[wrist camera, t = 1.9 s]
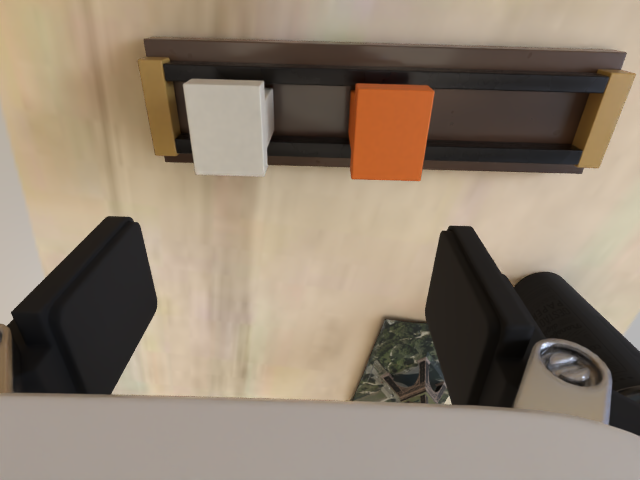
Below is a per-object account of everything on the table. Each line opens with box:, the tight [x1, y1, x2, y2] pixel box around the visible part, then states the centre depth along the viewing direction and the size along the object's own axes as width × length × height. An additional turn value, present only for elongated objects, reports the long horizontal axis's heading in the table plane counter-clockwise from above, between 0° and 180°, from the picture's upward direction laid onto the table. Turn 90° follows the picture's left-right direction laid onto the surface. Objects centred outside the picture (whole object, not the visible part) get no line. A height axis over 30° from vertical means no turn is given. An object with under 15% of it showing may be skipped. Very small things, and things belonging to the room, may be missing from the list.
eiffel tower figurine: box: [352, 319, 449, 404], centre depth 37 cm, size 15×10×13 cm
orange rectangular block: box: [348, 83, 435, 181], centre depth 25 cm, size 5×4×6 cm
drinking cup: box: [514, 272, 640, 404], centre depth 28 cm, size 8×8×20 cm
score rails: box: [138, 57, 636, 168], centre depth 27 cm, size 6×30×2 cm, turn 89°
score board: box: [144, 37, 627, 174], centre depth 28 cm, size 8×30×2 cm, turn 89°
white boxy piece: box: [183, 79, 274, 177], centre depth 25 cm, size 5×4×6 cm
